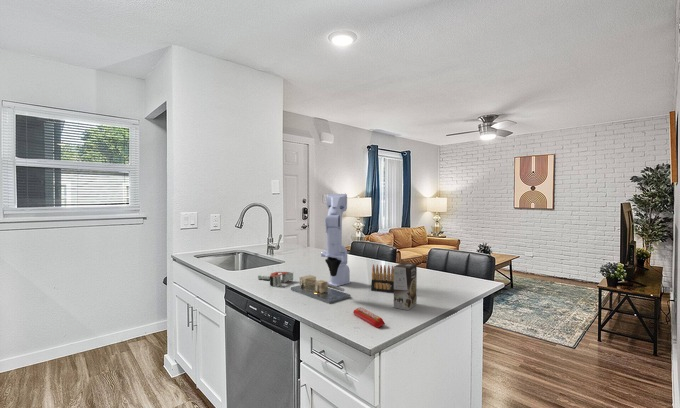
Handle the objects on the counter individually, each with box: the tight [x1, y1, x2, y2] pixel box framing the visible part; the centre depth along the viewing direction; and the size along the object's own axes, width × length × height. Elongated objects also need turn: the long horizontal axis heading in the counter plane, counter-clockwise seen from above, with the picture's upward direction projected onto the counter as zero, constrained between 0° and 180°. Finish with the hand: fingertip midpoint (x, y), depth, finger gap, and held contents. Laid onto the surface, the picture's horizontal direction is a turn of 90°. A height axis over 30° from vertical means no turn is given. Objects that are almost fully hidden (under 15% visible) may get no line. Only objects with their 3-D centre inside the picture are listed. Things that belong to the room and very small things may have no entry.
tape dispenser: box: [257, 271, 294, 288], centre depth 169 cm, size 18×5×20 cm
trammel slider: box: [315, 279, 329, 293], centre depth 147 cm, size 4×4×4 cm
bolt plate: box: [290, 284, 352, 304], centre depth 148 cm, size 12×27×1 cm, turn 42°
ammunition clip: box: [370, 264, 394, 294], centre depth 151 cm, size 11×2×12 cm, turn 68°
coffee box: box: [393, 262, 418, 311], centre depth 131 cm, size 9×6×16 cm
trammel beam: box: [299, 274, 346, 292], centre depth 149 cm, size 7×24×4 cm, turn 42°
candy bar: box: [353, 307, 386, 329], centre depth 116 cm, size 16×4×3 cm, turn 29°
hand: (333, 275), depth 142 cm, fingers closed
